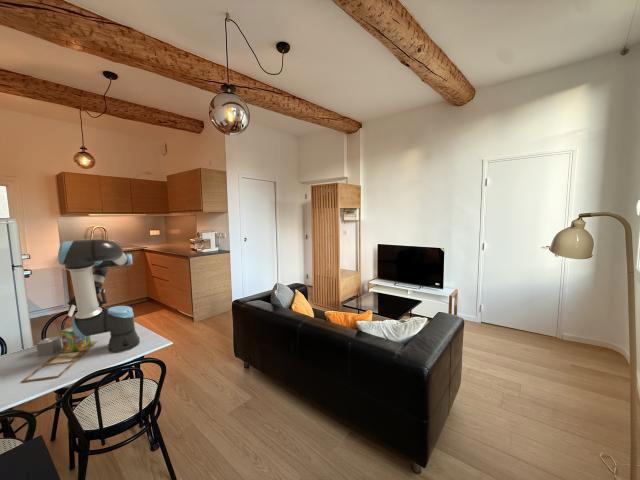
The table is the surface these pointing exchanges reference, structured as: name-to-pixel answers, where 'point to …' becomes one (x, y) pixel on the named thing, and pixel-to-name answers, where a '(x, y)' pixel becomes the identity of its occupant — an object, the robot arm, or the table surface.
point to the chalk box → (73, 340)
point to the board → (62, 361)
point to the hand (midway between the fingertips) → (82, 315)
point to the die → (49, 346)
